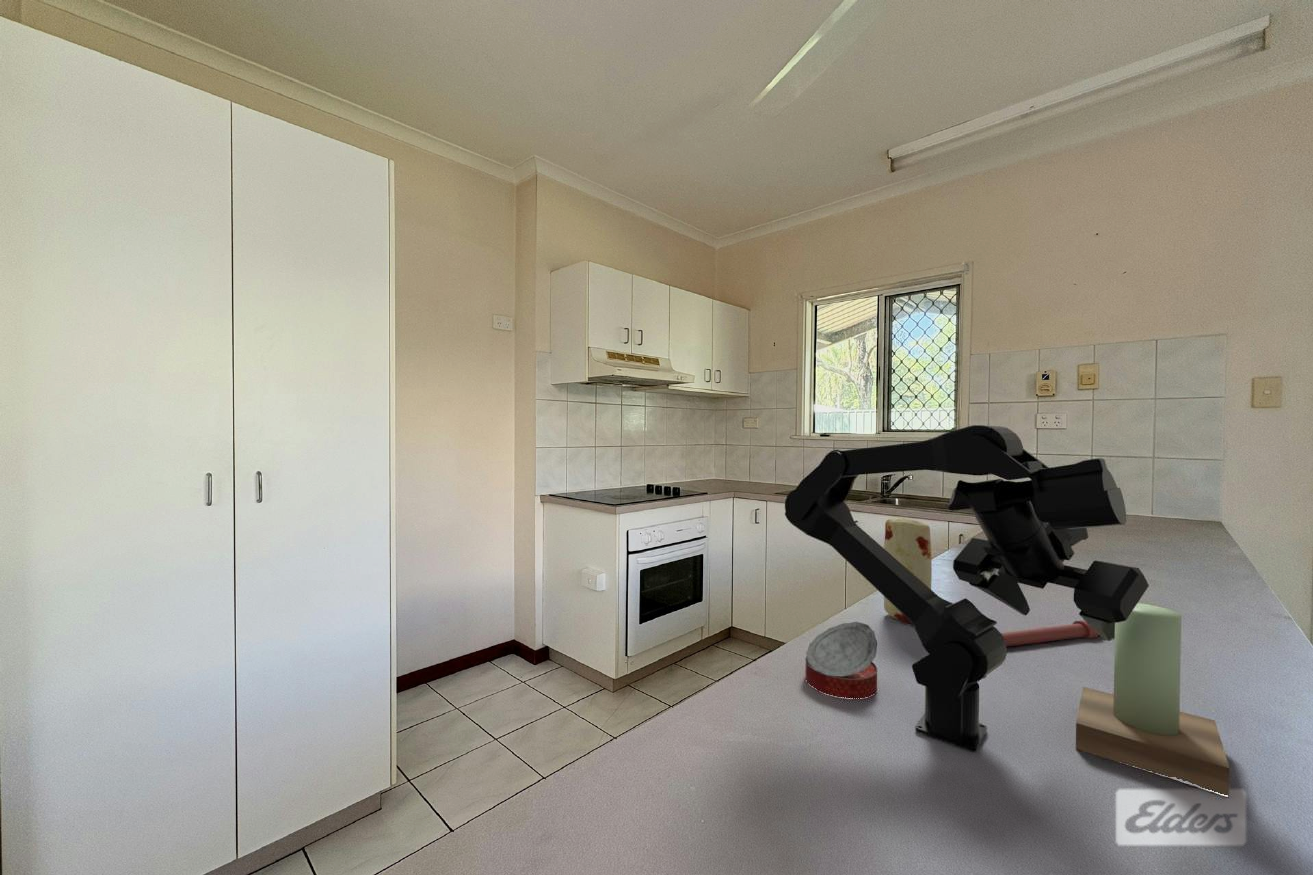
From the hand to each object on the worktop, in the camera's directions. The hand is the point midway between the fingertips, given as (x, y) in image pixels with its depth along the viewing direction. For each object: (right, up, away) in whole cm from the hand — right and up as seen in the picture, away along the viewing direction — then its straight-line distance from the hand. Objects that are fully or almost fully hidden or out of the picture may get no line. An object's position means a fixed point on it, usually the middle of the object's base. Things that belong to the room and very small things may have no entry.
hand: (1065, 624), depth 64 cm
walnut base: (+7, -13, -3) cm, 15 cm away
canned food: (-23, -13, +12) cm, 29 cm away
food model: (-1, -13, +38) cm, 40 cm away
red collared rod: (+23, -14, +30) cm, 40 cm away
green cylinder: (+7, -10, -3) cm, 13 cm away
